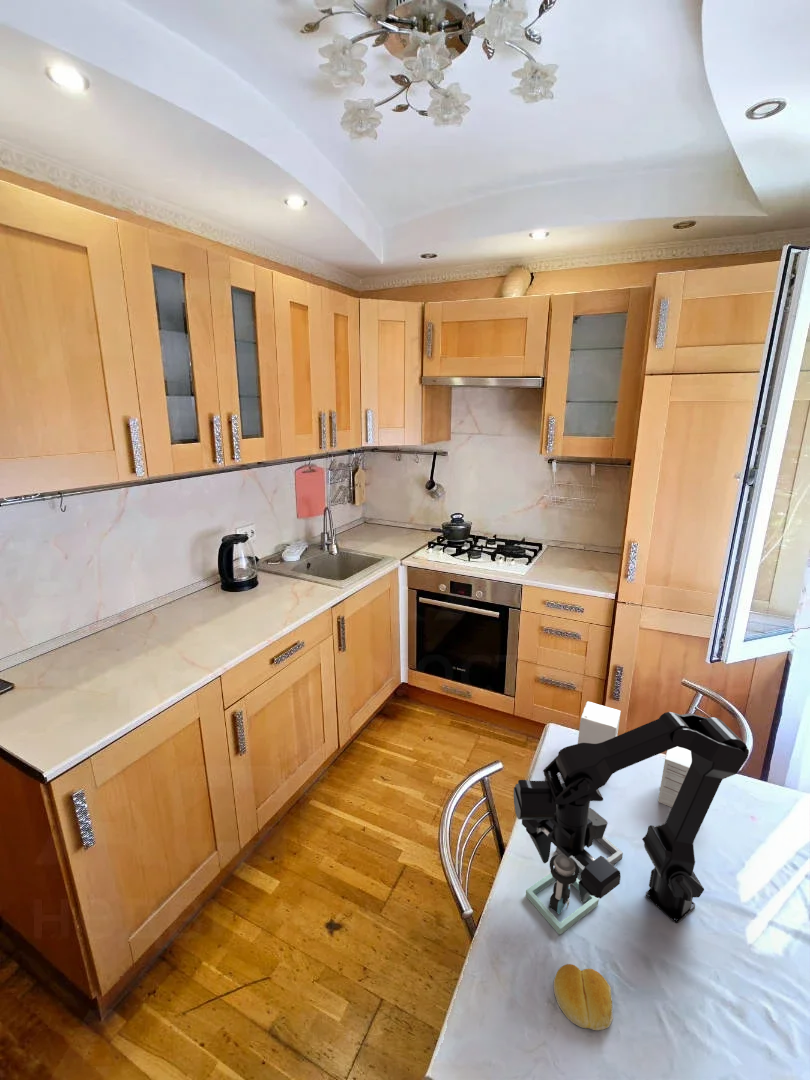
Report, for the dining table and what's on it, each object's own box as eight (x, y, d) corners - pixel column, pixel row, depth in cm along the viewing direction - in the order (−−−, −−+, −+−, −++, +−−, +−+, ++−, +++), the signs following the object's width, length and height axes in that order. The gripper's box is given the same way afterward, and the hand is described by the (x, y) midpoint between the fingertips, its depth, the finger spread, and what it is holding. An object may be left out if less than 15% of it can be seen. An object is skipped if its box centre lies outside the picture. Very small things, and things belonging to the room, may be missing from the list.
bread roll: (552, 966, 83) (554, 949, 82) (607, 981, 81) (610, 963, 80) (554, 1023, 76) (556, 1005, 75) (615, 1041, 74) (618, 1023, 73)
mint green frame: (597, 905, 93) (598, 899, 93) (559, 935, 88) (560, 928, 88) (562, 870, 101) (563, 864, 100) (525, 895, 95) (526, 889, 95)
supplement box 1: (610, 778, 126) (616, 728, 122) (574, 765, 130) (579, 717, 126) (615, 757, 133) (621, 710, 129) (581, 746, 137) (586, 699, 134)
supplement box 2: (662, 783, 124) (669, 741, 120) (695, 796, 120) (703, 753, 116) (656, 802, 118) (664, 758, 115) (691, 816, 114) (700, 771, 110)
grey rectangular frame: (622, 858, 103) (622, 852, 103) (588, 882, 98) (589, 876, 98) (588, 829, 110) (589, 823, 110) (556, 850, 105) (556, 844, 105)
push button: (555, 880, 98) (560, 840, 96) (581, 896, 95) (586, 856, 92) (541, 904, 94) (545, 863, 91) (567, 923, 90) (572, 881, 88)
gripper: (644, 832, 85) (633, 900, 89) (561, 767, 101) (555, 827, 105) (603, 861, 80) (594, 932, 84) (522, 788, 95) (517, 851, 99)
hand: (563, 880), depth 93 cm, fingers open, 9 cm apart
